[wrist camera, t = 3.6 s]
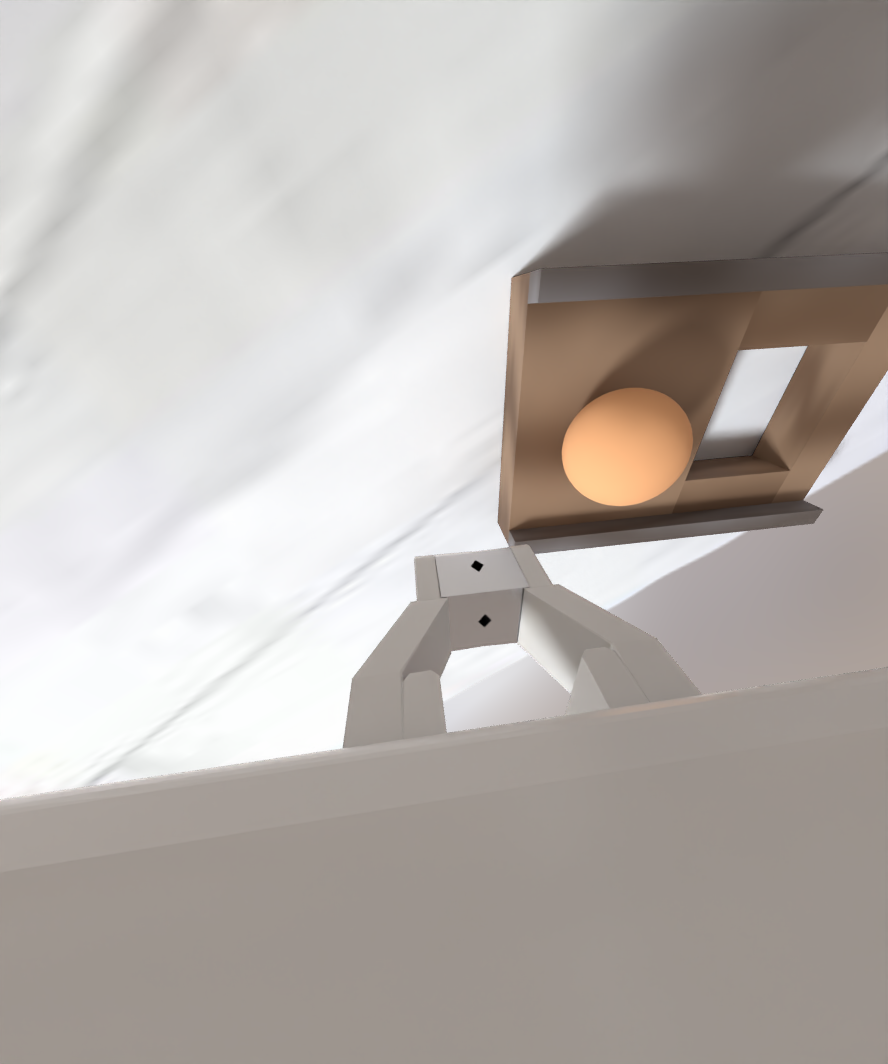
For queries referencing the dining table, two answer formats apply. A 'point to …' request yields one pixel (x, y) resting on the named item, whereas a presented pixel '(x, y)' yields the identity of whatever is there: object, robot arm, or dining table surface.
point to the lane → (685, 386)
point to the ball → (627, 446)
